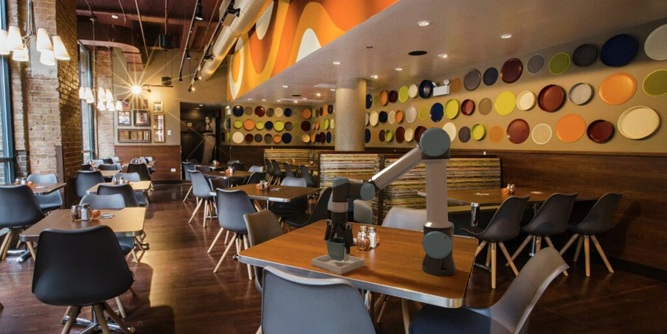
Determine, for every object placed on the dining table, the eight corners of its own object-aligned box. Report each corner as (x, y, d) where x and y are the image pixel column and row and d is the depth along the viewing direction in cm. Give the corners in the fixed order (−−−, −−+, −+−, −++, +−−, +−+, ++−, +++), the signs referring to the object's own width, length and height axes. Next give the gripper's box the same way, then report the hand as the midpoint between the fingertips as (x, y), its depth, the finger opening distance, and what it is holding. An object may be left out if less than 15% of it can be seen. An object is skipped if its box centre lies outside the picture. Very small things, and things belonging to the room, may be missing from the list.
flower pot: (341, 263, 164) (342, 244, 164) (325, 259, 169) (325, 240, 168) (351, 258, 171) (351, 240, 171) (335, 255, 176) (335, 237, 176)
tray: (364, 265, 171) (364, 259, 171) (340, 274, 158) (340, 268, 158) (335, 257, 183) (336, 251, 182) (311, 265, 169) (311, 259, 169)
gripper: (363, 212, 165) (361, 261, 166) (327, 206, 179) (326, 252, 180) (353, 214, 159) (351, 265, 160) (317, 208, 173) (316, 255, 174)
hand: (338, 258), depth 170 cm, fingers closed on flower pot, 9 cm apart
